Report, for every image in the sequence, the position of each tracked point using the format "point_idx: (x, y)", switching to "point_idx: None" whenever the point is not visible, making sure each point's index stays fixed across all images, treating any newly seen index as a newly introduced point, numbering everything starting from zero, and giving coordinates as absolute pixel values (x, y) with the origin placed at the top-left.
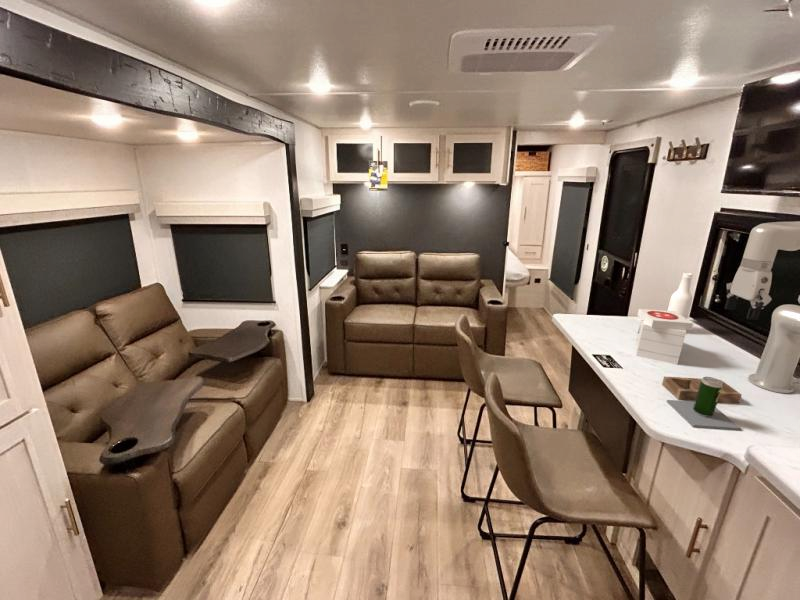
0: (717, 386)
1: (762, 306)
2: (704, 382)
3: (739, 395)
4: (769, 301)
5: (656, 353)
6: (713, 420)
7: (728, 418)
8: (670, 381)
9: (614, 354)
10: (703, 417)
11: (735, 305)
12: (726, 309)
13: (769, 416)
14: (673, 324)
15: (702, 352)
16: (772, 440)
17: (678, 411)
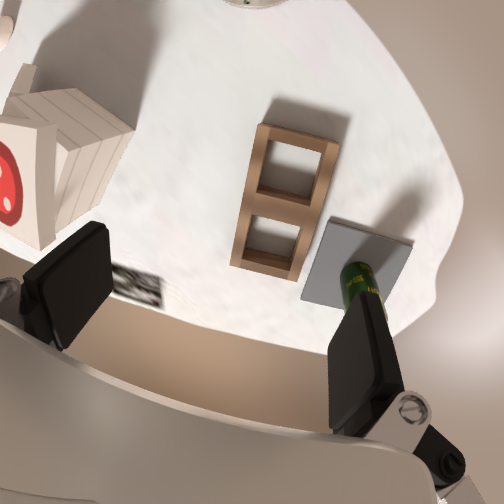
0: None
1: (428, 447)
2: None
3: (338, 149)
4: (476, 497)
5: (103, 177)
6: (380, 276)
7: (385, 241)
8: (254, 270)
9: None
10: None
11: (85, 255)
12: (111, 281)
13: (394, 127)
14: (42, 188)
15: (83, 19)
16: (445, 218)
17: (337, 307)
